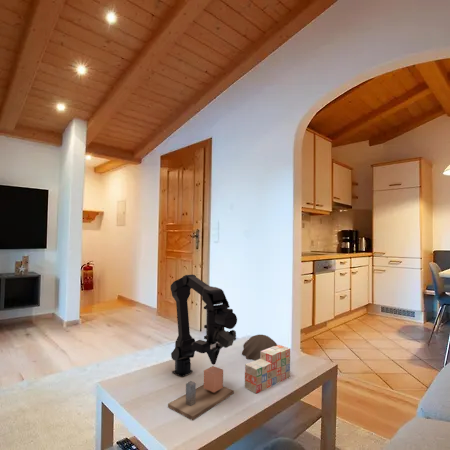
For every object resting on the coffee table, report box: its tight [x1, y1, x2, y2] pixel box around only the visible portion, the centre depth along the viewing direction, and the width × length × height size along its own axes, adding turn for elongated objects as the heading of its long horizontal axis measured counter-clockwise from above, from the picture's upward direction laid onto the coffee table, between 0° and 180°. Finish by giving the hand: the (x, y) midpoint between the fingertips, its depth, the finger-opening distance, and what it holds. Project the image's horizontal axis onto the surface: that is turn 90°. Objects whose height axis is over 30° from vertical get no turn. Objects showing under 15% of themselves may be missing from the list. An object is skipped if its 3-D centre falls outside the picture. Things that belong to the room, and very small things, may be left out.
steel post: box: [185, 380, 197, 406], centre depth 108 cm, size 2×2×8 cm
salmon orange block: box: [203, 365, 224, 392], centre depth 117 cm, size 5×5×7 cm
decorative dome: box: [241, 334, 278, 361], centre depth 156 cm, size 19×20×10 cm
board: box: [167, 383, 235, 421], centre depth 112 cm, size 12×22×1 cm, turn 141°
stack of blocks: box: [244, 344, 291, 394], centre depth 127 cm, size 21×6×12 cm, turn 132°
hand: (213, 364), depth 117 cm, fingers closed
